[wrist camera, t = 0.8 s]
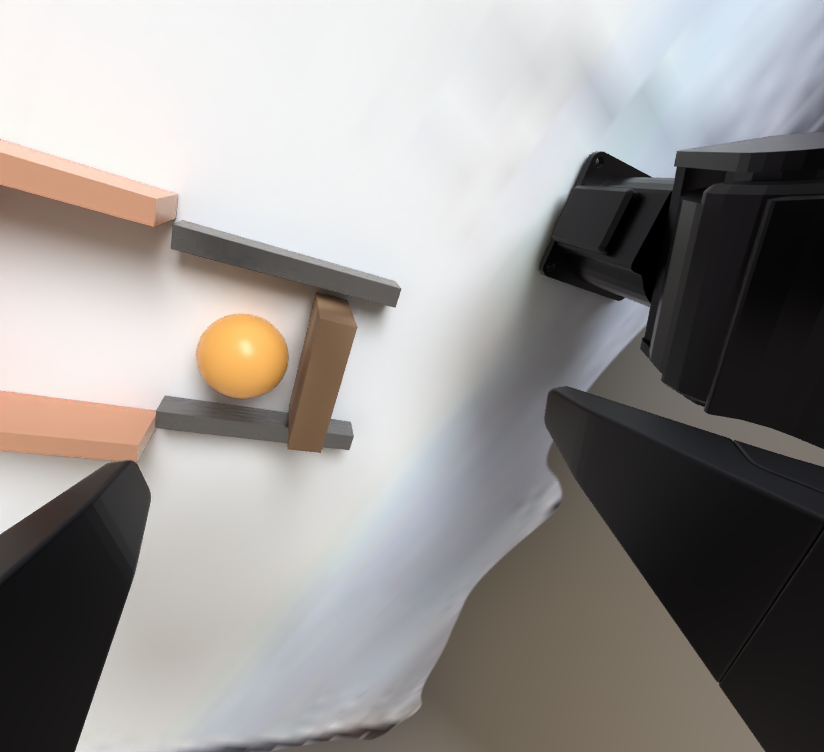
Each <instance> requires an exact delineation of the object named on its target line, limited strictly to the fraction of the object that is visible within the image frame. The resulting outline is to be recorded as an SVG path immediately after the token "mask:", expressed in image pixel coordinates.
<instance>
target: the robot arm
mask: <svg viewBox="0 0 824 752" xmlns="http://www.w3.org/2000/svg"><path fill="white" fill-rule="evenodd" d="M597 158H598V160H599V163H598V166H597V167H595V161H596V160H597ZM674 166H677V169H676V175H675V178H652V177H651V176H649V175H647V174H645V173H643V172H641V171H639V170H637V169H635V168H634V167H632V166H630V165H628V164H626V163H624V162H622V161H620V160H618V159H616V158H615V157H613V156H611V155H609V154H607V153H605V152H601V151H600V152H594V153H592V154H591V155H589V157H588V159H587V161H586V163H585V165H584V167H583V169H582V172H581V174H580V176H579V178H578V181H577V183H576V185H575V187H574V188H573V189H572V191H571V194H570V196H569V198H568V200H567V202H566V205H565V207H564V209H563V211H562V214H561V216H560V218H559V220H558V223H557V225H556V227H555V229H554V231H553V234H552V235H553V236H552V238H551V241H550V243H549V245H548V247H547V250H546V252H545V254H544V256H543V258H542V261H541V263H540V266H539V271H540V272H541V274H543V275H545V276H548V277H551V278H553V279H556V280H559V281H562V282H565V283H568V284H571V285H574V286H577V287H579V288H582V289H585V290H588V291H591V292H594V293H597V294H600V295H603V296H605V297H608V298H611V299H614V300H617V301H620V300H623V299H624V298H628V299H630V300H633V301H635V302H638V303H640V304H643V305H645V306H648V307H650V311H649V316H648V322H647V327H646V332H645V337H644V338H642V341H641V347H640V349H641V350H642V351H643V353H645V355H646V356H647V357H648V358H649V359H650V361H651V362H652V363H653V364H654V366H655V367H656V368H657V369H658V370H659V371H660V372H661V373H662V377H661V381H662V382H663V383H664V384H666V386H668V387H670V388H671V389H673V390H675V391H676V392H678V393H680V394H682V395H683V396H684V397H686V398H687V399H689V400H691V401H692V402H694V403H695V404H698V405H701V406H703V407H704V411H705V412H706V413H708V414H711V415H717V416H723V417H729V418H735V419H740V420H745V421H748V422H751V423H755V424H759V425H762V426H766V427H769V428H773V429H775V430H778V431H780V432H783V433H786V434H788V435H791V436H794V437H796V438H799V439H801V440H803V441H806V442H808V443H811V444H813V445H815V446H818V447H820V448H822V449H824V131H823V132H812V133H800V134H789V135H778V136H769V137H763V138H756V139H750V140H743V141H737V142H731V143H724V144H718V145H712V146H705V147H699V148H692V149H686V150H680V151H677V154H676V159H675V164H674ZM550 263H551V268H550V269H549V270H547V266H548V265H549V264H550ZM544 420H545V425H546V428H547V430H548V431H549V433H550V435H551V437H552V439H553V440H554V442H555V444H556V446H557V448H558V449H559V451H560V453H561V455H562V457H563V459H564V460H565V462H566V464H567V466H568V468H569V469H570V471H571V473H572V474H573V476H574V478H575V479H576V481H577V482H578V484H579V485H580V487H581V488H582V490H583V491H584V493H585V494H586V496H587V497H588V498H589V500H590V501H591V502H592V504H593V505H594V507H595V508H596V510H597V511H598V513H599V514H600V516H601V517H602V518H603V520H604V521H605V523H606V524H607V525H608V527H609V528H610V530H611V531H612V533H613V534H614V536H615V537H616V538H617V540H618V541H619V542H620V544H621V545H622V547H623V548H624V550H625V551H626V552H627V554H628V556H629V557H630V558H631V560H632V561H633V563H634V564H635V565H636V567H637V568H638V570H639V571H640V573H641V574H642V575H643V577H644V578H645V580H646V581H647V583H648V584H649V586H650V587H651V588H652V590H653V591H654V593H655V594H656V596H657V597H658V598H659V600H660V601H661V603H662V604H663V606H664V607H665V608H666V610H667V611H668V613H669V614H670V616H671V617H672V618H673V620H674V621H675V623H676V624H677V626H678V627H679V628H680V630H681V631H682V633H683V634H684V636H685V637H686V638H687V640H688V641H689V643H690V644H691V646H692V647H693V648H694V650H695V651H696V653H697V654H698V656H699V657H700V658H701V660H702V661H703V663H704V664H705V666H706V667H707V668H708V670H709V671H710V673H711V674H712V676H713V677H714V678H715V680H716V681H717V682H719V686H720V688H721V689H722V690H723V692H724V693H725V695H726V696H727V698H728V699H729V700H730V702H731V703H732V705H733V706H734V707H735V709H736V710H737V712H738V713H739V715H740V716H741V717H742V719H743V720H744V722H745V723H746V725H747V726H748V728H749V729H750V730H751V732H752V733H753V735H754V736H755V738H756V739H757V740H758V742H759V743H760V745H761V746H762V748H763V749H764V750H765V752H824V467H821V466H818V465H814V464H811V463H808V462H804V461H801V460H797V459H794V458H790V457H787V456H784V455H781V454H777V453H774V452H771V451H768V450H764V449H761V448H758V447H755V446H752V445H748V444H746V443H742V442H739V441H736V440H734V441H732V440H731V439H730V438H726V437H723V436H720V435H717V434H714V433H711V432H708V431H705V430H702V429H698V428H696V427H692V426H689V425H686V424H683V423H680V422H677V421H673V420H671V419H667V418H664V417H661V416H658V415H655V414H652V413H649V412H646V411H643V410H639V409H636V408H633V407H630V406H627V405H624V404H621V403H618V402H614V401H611V400H608V399H605V398H602V397H599V396H595V395H593V394H589V393H587V392H583V391H580V390H577V389H574V388H571V387H567V386H564V387H558V388H553V389H551V390H550V391H549V392H548V396H547V403H546V409H545V416H544ZM150 502H151V493H150V490H149V487H148V485H147V483H146V481H145V479H144V477H143V475H142V473H141V471H140V469H139V467H138V465H137V464H136V463H135V462H134V461H133V460H123V461H117V462H111V463H108V464H106V465H104V466H102V467H101V468H99V469H98V470H96V471H95V472H93V473H92V474H90V475H89V476H87V477H86V478H84V479H83V480H81V481H80V482H78V483H77V484H75V485H74V486H72V487H71V488H69V489H68V490H66V491H65V492H63V493H62V494H60V495H59V496H57V497H56V498H54V499H53V500H51V501H50V502H48V503H47V504H45V505H44V506H42V507H41V508H39V509H38V510H36V511H35V512H33V513H32V514H30V515H29V516H27V517H26V518H24V519H23V520H21V521H20V522H18V523H17V524H15V525H14V526H12V527H11V528H9V529H8V530H6V531H5V532H3V533H2V534H0V752H75V750H76V747H77V744H78V741H79V738H80V735H81V732H82V729H83V726H84V723H85V720H86V717H87V714H88V711H89V708H90V705H91V702H92V699H93V696H94V693H95V690H96V688H97V685H98V682H99V679H100V676H101V673H102V670H103V667H104V664H105V661H106V658H107V655H108V652H109V649H110V646H111V643H112V640H113V637H114V634H115V631H116V628H117V626H118V623H119V620H120V617H121V614H122V611H123V608H124V605H125V602H126V599H127V596H128V593H129V590H130V587H131V584H132V581H133V578H134V574H135V571H136V567H137V563H138V558H139V553H140V549H141V544H142V539H143V535H144V530H145V525H146V521H147V516H148V511H149V507H150Z"/></svg>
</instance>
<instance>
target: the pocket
mask: <svg viewBox="0 0 824 752" xmlns="http://www.w3.org/2000/svg"><path fill="white" fill-rule="evenodd" d="M0 185H4V186H7V187H11V188H15V189H18V190H22V191H25V192H29V193H33V194H36V195H40V196H44V197H47V198H51V199H54V200H58V201H62V202H65V203H69V204H72V205H76V206H80V207H83V208H87V209H91V210H94V211H98V212H101V213H105V214H109V215H112V216H116V217H120V218H123V219H127V220H130V221H134V222H138V223H141V224H145V225H149V226H152V227H155V226H158V225H160V224H163V223H165V222H168V221H170V220H173V219H175V218H176V211H177V200H178V194H176V193H173V192H169V191H166V190H163V189H160V188H156V187H153V186H150V185H147V184H143V183H140V182H137V181H134V180H130V179H127V178H124V177H121V176H117V175H114V174H111V173H108V172H105V171H101V170H98V169H95V168H92V167H88V166H85V165H82V164H79V163H75V162H72V161H69V160H66V159H62V158H59V157H56V156H53V155H49V154H46V153H43V152H40V151H36V150H33V149H30V148H27V147H23V146H20V145H17V144H14V143H10V142H7V141H4V140H1V139H0ZM155 417H156V411H153V410H145V409H138V408H130V407H122V406H114V405H106V404H99V403H91V402H83V401H75V400H67V399H60V398H52V397H44V396H36V395H28V394H21V393H13V392H5V391H0V451H8V452H20V453H32V454H43V455H55V456H67V457H79V458H90V459H102V460H114V461H123V460H133V461H134V462H137V461H138V460H139V458H140V456H141V454H142V452H143V450H144V449H145V447H146V445H147V443H148V441H149V439H150V438H151V436H152V434H153V432H154V430H155Z"/></svg>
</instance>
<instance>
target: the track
mask: <svg viewBox="0 0 824 752" xmlns="http://www.w3.org/2000/svg"><path fill="white" fill-rule="evenodd" d="M171 249H173V250H177V251H181V252H185V253H189V254H192V255H196V256H200V257H204V258H208V259H212V260H215V261H219V262H223V263H227V264H231V265H234V266H238V267H242V268H246V269H250V270H254V271H257V272H261V273H265V274H269V275H273V276H276V277H280V278H284V279H288V280H292V281H296V282H299V283H303V284H307V285H311V286H315V287H318V288H322V289H326V290H330V291H334V292H338V293H341V294H345V295H349V296H353V297H357V298H360V299H364V300H368V301H372V302H376V303H380V304H383V305H387V306H391V307H396V304H397V301H398V298H399V295H400V292H401V288H400V287H399V285H398V284H397V283H396V282H395V281H392V280H389V279H385V278H382V277H378V276H375V275H371V274H368V273H364V272H361V271H357V270H354V269H350V268H347V267H343V266H340V265H337V264H333V263H330V262H326V261H323V260H319V259H316V258H312V257H309V256H305V255H302V254H298V253H295V252H291V251H288V250H284V249H281V248H278V247H274V246H271V245H267V244H264V243H260V242H257V241H253V240H250V239H246V238H243V237H239V236H236V235H232V234H229V233H225V232H222V231H219V230H215V229H212V228H208V227H205V226H201V225H198V224H194V223H191V222H187V221H184V220H181V221H179V222H177V223H175V224H173V229H172V240H171ZM288 425H289V413H284V412H276V411H269V410H262V409H255V408H248V407H241V406H234V405H227V404H220V403H213V402H206V401H199V400H192V399H184V398H177V397H170V396H164V398H163V400H162V402H161V403H160V405H159V407H158V408H157V410H156V417H155V428H161V429H170V430H178V431H187V432H196V433H205V434H213V435H222V436H231V437H240V438H248V439H257V440H266V441H275V442H283V443H288ZM353 437H354V435H353V430H352V426H351V422H347V421H340V420H333V419H330V423H329V426H328V429H327V433H326V436H325V440H324V443H323V447H327V448H336V449H345V450H349V449H350V446H351V443H352V440H353Z"/></svg>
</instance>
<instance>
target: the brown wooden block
mask: <svg viewBox="0 0 824 752" xmlns="http://www.w3.org/2000/svg"><path fill="white" fill-rule="evenodd" d="M356 330H357V325H356V323H355V320H354V317H353V315H352V312H351V309H350V307H349V304H348V301H347V300H343V299H339V298H335V297H331V296H328V295H324V294H320V293H316V296H315V300H314V305H313V309H312V313H311V317H310V321H309V325H308V330H307V334H306V338H305V342H304V346H303V350H302V355H301V359H300V363H299V367H298V371H297V375H296V380H295V384H294V388H293V392H292V396H291V401H290V405H289V425H288V449H291V450H300V451H309V452H318V453H321V450H322V447H323V443H324V440H325V436H326V433H327V429H328V426H329V423H330V419H331V416H332V412H333V409H334V405H335V402H336V398H337V395H338V392H339V388H340V385H341V381H342V378H343V374H344V371H345V367H346V364H347V361H348V357H349V354H350V350H351V347H352V343H353V340H354V337H355V333H356Z"/></svg>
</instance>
